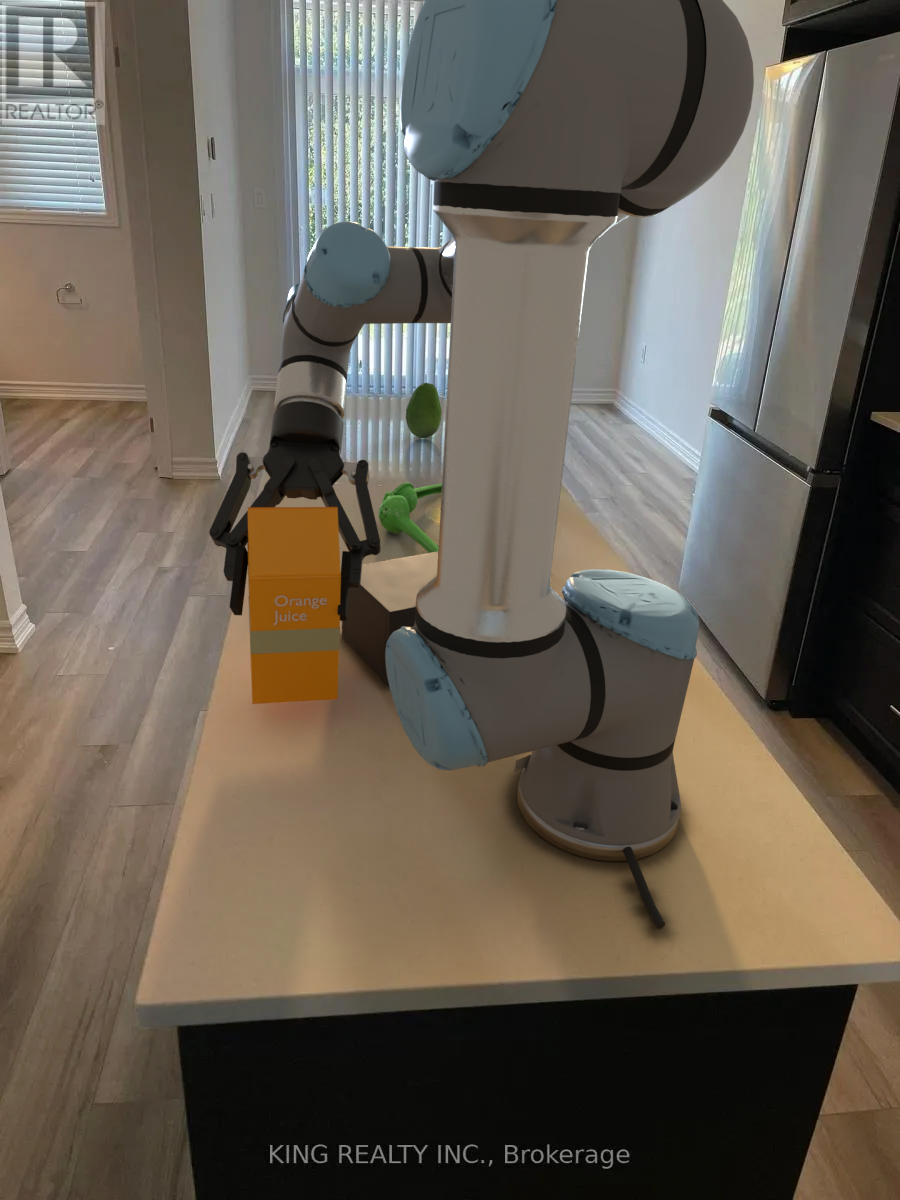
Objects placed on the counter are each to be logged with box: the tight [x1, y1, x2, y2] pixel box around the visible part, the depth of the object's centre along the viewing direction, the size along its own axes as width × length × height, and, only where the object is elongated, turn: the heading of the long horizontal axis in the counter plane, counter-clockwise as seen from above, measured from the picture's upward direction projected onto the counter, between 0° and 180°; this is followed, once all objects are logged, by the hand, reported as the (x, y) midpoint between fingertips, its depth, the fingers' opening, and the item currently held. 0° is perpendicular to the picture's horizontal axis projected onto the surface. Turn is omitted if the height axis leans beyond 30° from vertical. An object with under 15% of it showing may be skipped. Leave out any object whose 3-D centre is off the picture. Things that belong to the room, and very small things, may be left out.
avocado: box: [405, 382, 443, 439], centre depth 188 cm, size 8×8×12 cm
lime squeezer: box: [378, 481, 442, 553], centre depth 143 cm, size 34×12×6 cm, turn 1°
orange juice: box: [246, 506, 341, 705], centre depth 88 cm, size 8×9×20 cm
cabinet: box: [341, 551, 438, 687], centre depth 105 cm, size 15×13×10 cm
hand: (289, 614), depth 86 cm, fingers closed on orange juice, 10 cm apart
